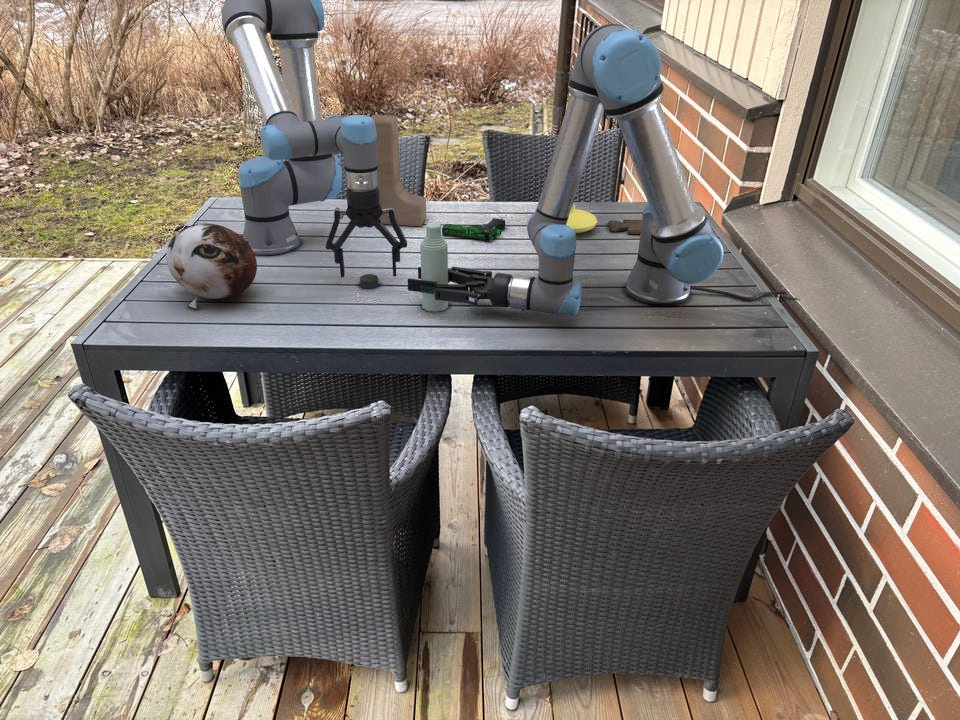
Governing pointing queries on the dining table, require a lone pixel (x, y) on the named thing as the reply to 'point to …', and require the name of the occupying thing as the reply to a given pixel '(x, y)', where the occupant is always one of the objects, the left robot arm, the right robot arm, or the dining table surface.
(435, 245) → the bottle
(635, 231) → the dark wooden board
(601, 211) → the dining table surface
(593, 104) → the right robot arm
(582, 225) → the yellow low dome
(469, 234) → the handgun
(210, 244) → the cat face balloon
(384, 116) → the decorative block
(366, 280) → the cap
